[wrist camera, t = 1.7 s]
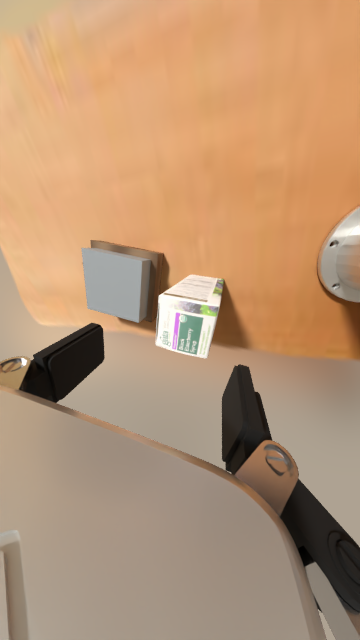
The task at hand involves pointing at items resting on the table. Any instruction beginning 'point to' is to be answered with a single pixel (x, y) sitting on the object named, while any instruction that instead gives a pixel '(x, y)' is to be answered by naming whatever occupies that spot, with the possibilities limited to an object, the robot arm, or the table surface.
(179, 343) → the syrup box
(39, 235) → the table surface
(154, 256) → the tower base
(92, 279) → the tower top
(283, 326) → the table surface
